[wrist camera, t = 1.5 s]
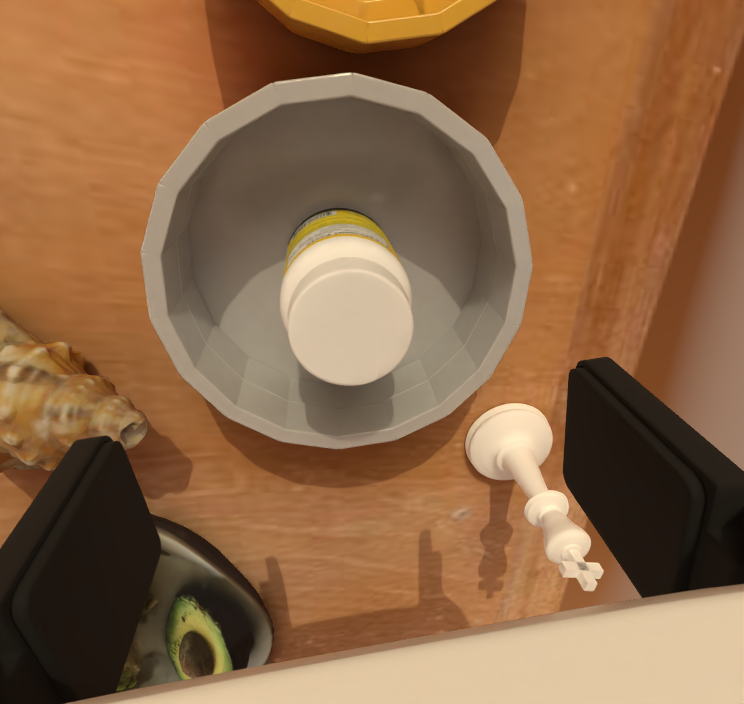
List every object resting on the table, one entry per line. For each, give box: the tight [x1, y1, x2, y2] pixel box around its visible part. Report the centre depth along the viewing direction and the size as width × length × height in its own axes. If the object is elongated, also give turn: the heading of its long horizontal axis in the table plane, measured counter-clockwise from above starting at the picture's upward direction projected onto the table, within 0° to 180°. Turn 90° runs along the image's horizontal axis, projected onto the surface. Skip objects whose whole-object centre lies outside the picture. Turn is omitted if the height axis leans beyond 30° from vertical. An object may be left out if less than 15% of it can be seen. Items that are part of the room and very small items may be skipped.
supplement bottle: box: [280, 207, 414, 386], centre depth 20 cm, size 5×5×8 cm
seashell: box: [0, 309, 148, 472], centre depth 22 cm, size 9×8×10 cm
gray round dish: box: [141, 72, 533, 449], centre depth 22 cm, size 14×15×5 cm
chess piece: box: [465, 403, 604, 591], centre depth 25 cm, size 5×5×10 cm
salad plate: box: [116, 514, 274, 693], centre depth 31 cm, size 19×18×5 cm
